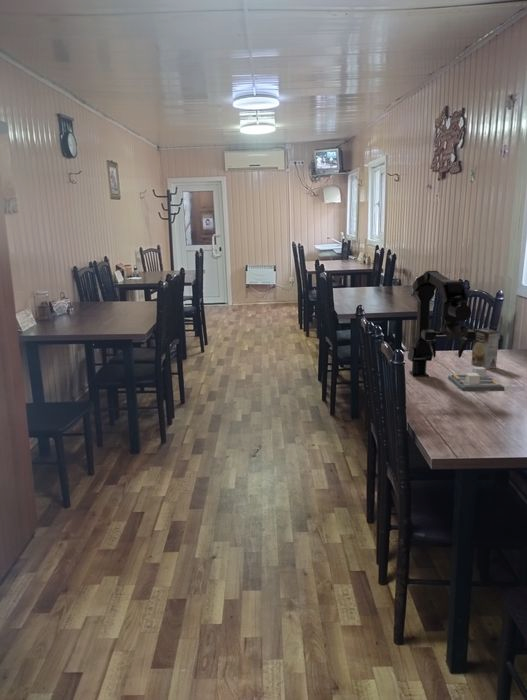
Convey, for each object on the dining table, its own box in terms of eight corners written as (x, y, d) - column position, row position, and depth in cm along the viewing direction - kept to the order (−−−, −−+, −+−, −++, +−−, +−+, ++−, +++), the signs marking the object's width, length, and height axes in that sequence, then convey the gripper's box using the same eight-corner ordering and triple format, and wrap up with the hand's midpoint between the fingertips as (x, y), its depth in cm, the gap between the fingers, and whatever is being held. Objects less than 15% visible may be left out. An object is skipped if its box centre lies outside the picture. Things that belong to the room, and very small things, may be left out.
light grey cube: (472, 376, 227) (472, 366, 226) (481, 376, 227) (482, 366, 226) (475, 378, 224) (476, 369, 223) (485, 378, 224) (486, 369, 223)
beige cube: (465, 383, 218) (466, 373, 217) (475, 383, 218) (476, 373, 217) (468, 385, 215) (469, 375, 214) (479, 385, 215) (479, 375, 214)
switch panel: (448, 378, 229) (448, 374, 229) (487, 378, 229) (487, 373, 229) (462, 390, 214) (462, 385, 213) (504, 389, 214) (504, 384, 213)
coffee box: (470, 364, 251) (473, 328, 247) (481, 362, 253) (484, 327, 249) (485, 369, 243) (488, 332, 239) (497, 367, 245) (500, 331, 241)
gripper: (430, 320, 196) (427, 363, 200) (484, 319, 196) (480, 363, 200) (421, 314, 207) (419, 355, 211) (472, 314, 207) (469, 355, 211)
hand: (446, 357), depth 208 cm, fingers open, 9 cm apart
